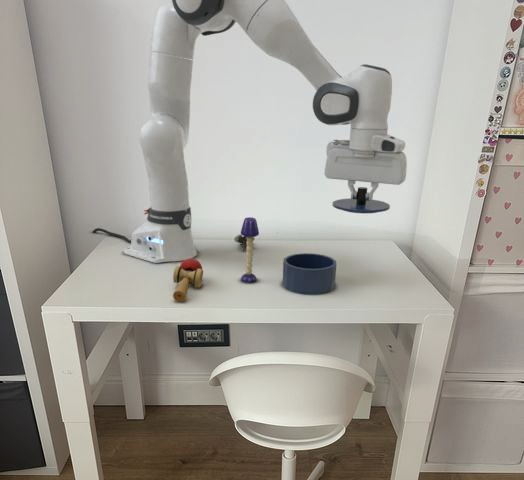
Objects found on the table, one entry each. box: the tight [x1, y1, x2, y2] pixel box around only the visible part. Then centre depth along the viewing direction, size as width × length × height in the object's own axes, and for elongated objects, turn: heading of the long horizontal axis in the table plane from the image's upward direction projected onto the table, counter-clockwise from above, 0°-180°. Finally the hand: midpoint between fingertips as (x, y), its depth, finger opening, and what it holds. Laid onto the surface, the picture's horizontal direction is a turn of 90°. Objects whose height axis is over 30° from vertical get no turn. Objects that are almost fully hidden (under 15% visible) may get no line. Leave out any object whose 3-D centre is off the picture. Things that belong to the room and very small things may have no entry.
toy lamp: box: [240, 216, 260, 284], centre depth 130 cm, size 5×5×17 cm
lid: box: [331, 186, 391, 214], centre depth 128 cm, size 15×15×5 cm
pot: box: [282, 252, 337, 295], centre depth 130 cm, size 14×14×6 cm
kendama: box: [172, 258, 204, 303], centre depth 126 cm, size 8×6×18 cm
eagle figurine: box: [234, 233, 257, 252], centre depth 159 cm, size 8×7×9 cm
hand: (361, 199), depth 128 cm, fingers closed on lid, 2 cm apart
